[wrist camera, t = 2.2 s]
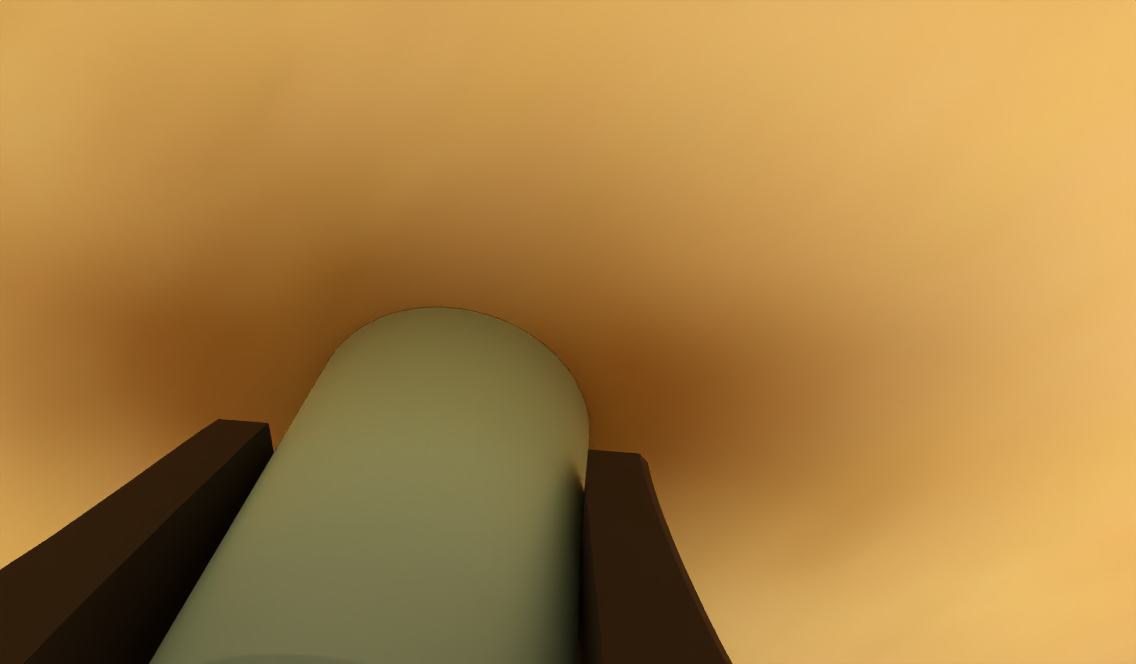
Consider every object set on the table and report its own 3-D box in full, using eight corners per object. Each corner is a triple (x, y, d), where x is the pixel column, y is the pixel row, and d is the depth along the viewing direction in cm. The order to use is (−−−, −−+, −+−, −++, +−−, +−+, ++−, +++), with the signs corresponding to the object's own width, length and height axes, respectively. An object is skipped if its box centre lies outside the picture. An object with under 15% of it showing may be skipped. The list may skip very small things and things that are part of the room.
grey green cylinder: (474, 561, 12) (394, 942, 8) (266, 426, 11) (37, 787, 7) (647, 425, 10) (665, 810, 6) (425, 250, 9) (259, 576, 5)
